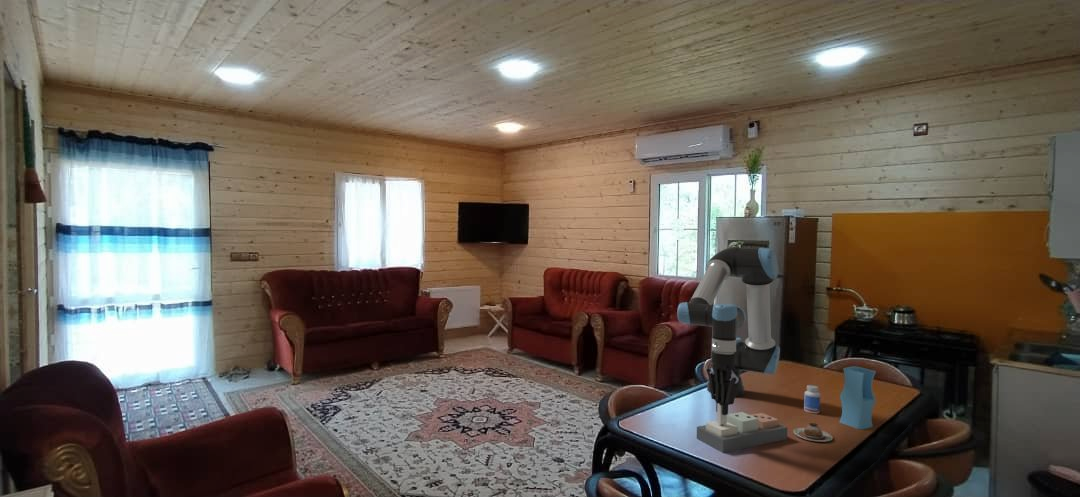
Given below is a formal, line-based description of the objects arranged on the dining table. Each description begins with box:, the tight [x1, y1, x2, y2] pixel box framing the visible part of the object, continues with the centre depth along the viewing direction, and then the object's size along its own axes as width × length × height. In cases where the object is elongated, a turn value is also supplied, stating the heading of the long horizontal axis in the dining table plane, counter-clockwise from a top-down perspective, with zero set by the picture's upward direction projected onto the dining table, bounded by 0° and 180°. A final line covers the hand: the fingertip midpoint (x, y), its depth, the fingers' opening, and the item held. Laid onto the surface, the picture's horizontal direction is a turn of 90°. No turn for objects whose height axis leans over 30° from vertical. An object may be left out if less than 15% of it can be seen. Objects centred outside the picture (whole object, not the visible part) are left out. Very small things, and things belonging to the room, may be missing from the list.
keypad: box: [696, 423, 788, 453], centre depth 176 cm, size 12×28×4 cm, turn 114°
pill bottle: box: [803, 384, 821, 414], centre depth 204 cm, size 6×5×10 cm
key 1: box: [705, 420, 738, 437], centre depth 172 cm, size 7×7×4 cm
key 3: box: [750, 412, 779, 429], centre depth 179 cm, size 7×7×4 cm
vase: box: [839, 366, 877, 430], centre depth 190 cm, size 8×8×20 cm
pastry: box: [792, 422, 833, 443], centre depth 179 cm, size 12×12×5 cm
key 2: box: [727, 411, 759, 433], centre depth 176 cm, size 7×7×4 cm
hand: (721, 423), depth 172 cm, fingers closed
